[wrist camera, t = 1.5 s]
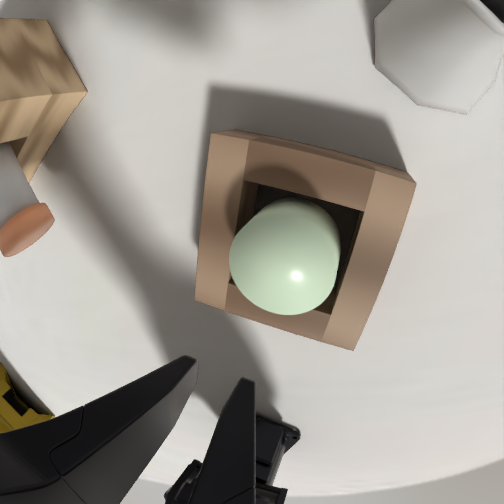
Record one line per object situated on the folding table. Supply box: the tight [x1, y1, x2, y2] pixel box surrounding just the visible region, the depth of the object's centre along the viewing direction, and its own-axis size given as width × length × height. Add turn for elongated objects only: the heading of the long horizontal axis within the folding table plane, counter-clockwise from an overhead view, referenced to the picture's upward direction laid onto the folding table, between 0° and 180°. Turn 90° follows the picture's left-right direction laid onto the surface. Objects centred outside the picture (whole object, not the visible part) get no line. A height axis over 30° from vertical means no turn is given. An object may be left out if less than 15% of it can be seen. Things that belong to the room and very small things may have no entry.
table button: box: [229, 198, 341, 315], centre depth 16 cm, size 5×5×3 cm
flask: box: [374, 0, 504, 115], centre depth 8 cm, size 7×7×10 cm
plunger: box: [0, 141, 55, 257], centre depth 18 cm, size 8×5×5 cm, turn 36°
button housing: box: [195, 130, 416, 351], centre depth 18 cm, size 10×10×3 cm
